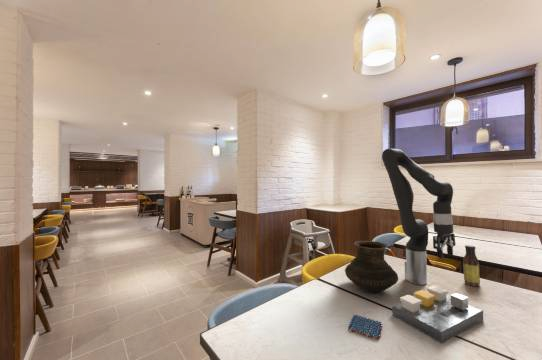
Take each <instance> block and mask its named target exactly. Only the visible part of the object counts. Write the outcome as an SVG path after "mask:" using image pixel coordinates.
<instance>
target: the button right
mask: <svg viewBox="0 0 542 360" xmlns="http://www.w3.org/2000/svg"><path fill="white" fill-rule="evenodd" d="M426 292H429V293H431V294H433V295H435V296H436V298H435V299H436V300H438V301H440V302H441V301H443V300H446V296H447V295H448V293H449V291H448V290H447V289H444V288H442V287H439V286H437V285H431V286H429V287H427V288H426Z"/></svg>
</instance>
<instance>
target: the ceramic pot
mask: <svg viewBox="0 0 542 360" xmlns="http://www.w3.org/2000/svg"><path fill="white" fill-rule="evenodd" d="M353 245H354V246H355V247H356V252H357V253H356V254H357V255H356V256H355V257H354V258H353V259H352V260H351V262H350V263H349V264H347V265H346V267H345V269H344V273H345V276H346V278H348V279H349V280H350V282H351V283H353V284H354V285H355V286H356V287H358V288H360V289H361V290H363V291H365V292H367V293H371V294H378V293H381V292H384V291H387V290H388V289H390V288H391V287H393V286H394V285H396V284H397V283H398V281H399V276H398V273H397V272H396V271H395V270H394V268H393V267H392V266H391V265H390V264H389V263H388V262H387V261H386V260H385V249H386V248H388V245H387V244H386V243H383V242H379V241H374V240H372V241H371V240H357V241H354V243H353Z"/></svg>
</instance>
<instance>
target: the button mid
mask: <svg viewBox="0 0 542 360" xmlns="http://www.w3.org/2000/svg"><path fill="white" fill-rule="evenodd" d="M428 292H429V291H427V290H423V289H421V290H417V291H414V292H413V297H416V298H417V299H420V300H422V305H424V306H427V307H428V306H431V305H433V304H434V299H435V298H436V296H435V295H433V294H431V293H428Z"/></svg>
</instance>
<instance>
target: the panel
mask: <svg viewBox="0 0 542 360" xmlns="http://www.w3.org/2000/svg"><path fill="white" fill-rule="evenodd" d="M427 292H428V293H429V291H427ZM414 297H415V298H416V296H414ZM391 309H392V310H391V316H392V317H394V318H396V319H398V320H399V319H400V320H399V321H401V322H403V323H405V324H407V325H408V326H409V327H411V328H414V329H415V330H417V331H419V332H420V333H422V334H423V335H426V336H427V337H429V338H431V339H433V340H434V341H436V342H438V343H440V344H441V343H442V344H444V343H446V342H447V341H449V340H451V339H454V338H455V337H456V336H458V335H460V334H462V333H464V332H466V331H467V330H469V329H471V328H473V327H475V326H476V325H478V324H480V323H482V322H484V310H483V309H481V308H479V307H475V306H473V305H471V304H468V308H466V309H464V310H461V309H459V308H457V307H454V306H452V305H451V296H448V295H446V300H443V301H441V302H440V301H438V300H436V299H434V304H433V305H431V306H428V307H427V306H424V305H422V304H420V310H419V311H416V312H414V313H413V312H411V311H409V310H407V309H405V308H403V307H402V301H401V302H398V303H397V302H396V303H395V304H393V305H391Z"/></svg>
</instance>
